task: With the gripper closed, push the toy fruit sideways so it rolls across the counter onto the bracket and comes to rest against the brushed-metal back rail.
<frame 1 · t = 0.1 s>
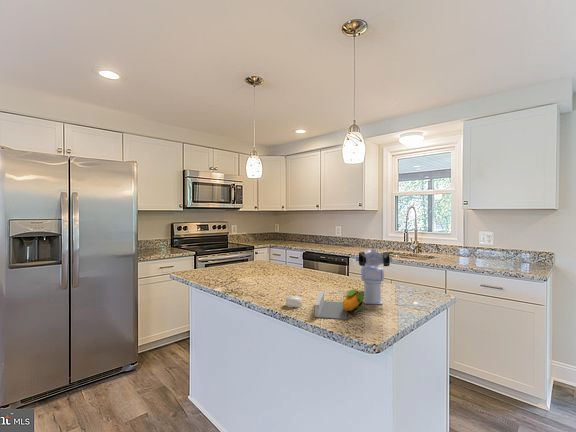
hand: (375, 260, 118), 22 cm above the countertop, tool horizontal, fingers open, 7 cm apart
bracket: (332, 309, 126), on the countertop
toy fruit: (352, 310, 124), on the countertop, touching bracket
white glossy round part: (293, 306, 132), on the countertop
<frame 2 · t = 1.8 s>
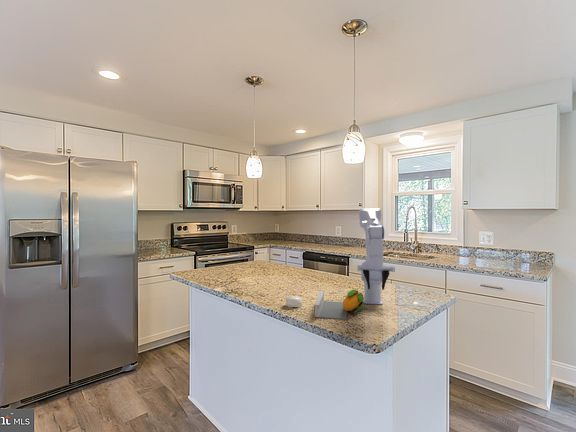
hand: (375, 289, 122), 9 cm above the countertop, tool pointing down, fingers open, 5 cm apart
nothing on the countertop moved.
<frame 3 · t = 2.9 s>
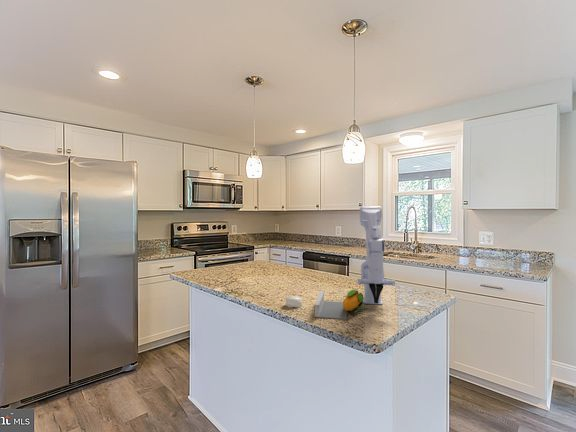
hand: (376, 302, 122), 4 cm above the countertop, tool pointing down, fingers closed
nothing on the countertop moved.
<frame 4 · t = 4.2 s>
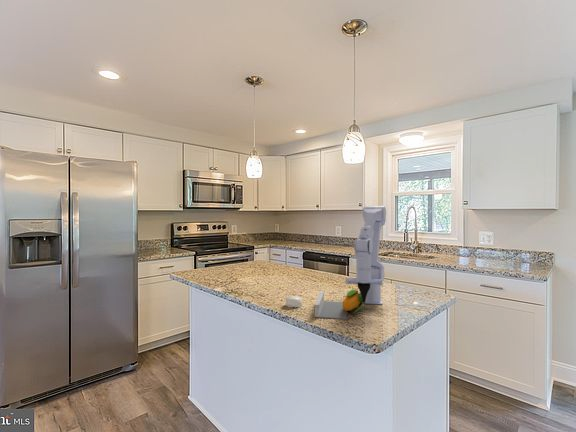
hand: (363, 301, 123), 4 cm above the countertop, tool pointing down, fingers closed
toy fruit: (351, 310, 124), on the countertop, touching gripper
everything else where it was.
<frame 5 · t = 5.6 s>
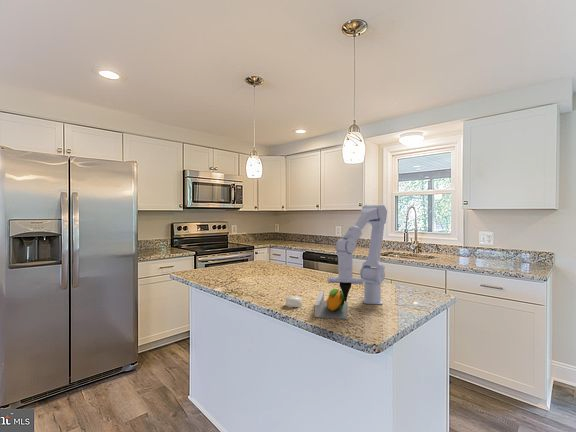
hand: (345, 301, 125), 4 cm above the countertop, tool pointing down, fingers closed
toy fruit: (335, 309, 125), resting on bracket, touching gripper
everything else where it was.
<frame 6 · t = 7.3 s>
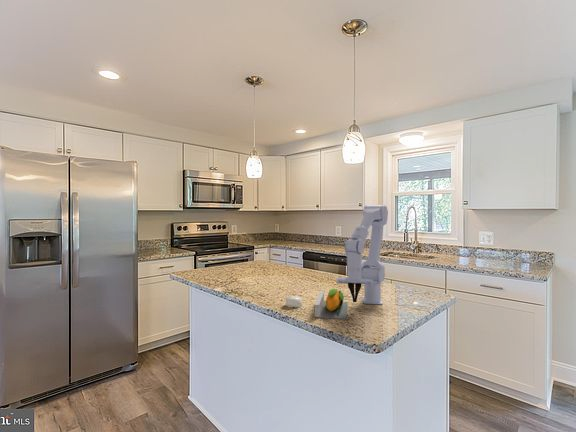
hand: (354, 301, 124), 4 cm above the countertop, tool pointing down, fingers closed
toy fruit: (334, 310, 125), resting on bracket
everything else where it was.
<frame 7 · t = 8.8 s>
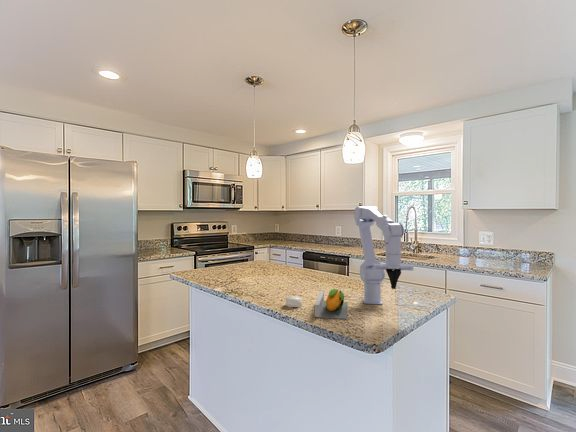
hand: (393, 288, 119), 10 cm above the countertop, tool pointing down, fingers closed
nothing on the countertop moved.
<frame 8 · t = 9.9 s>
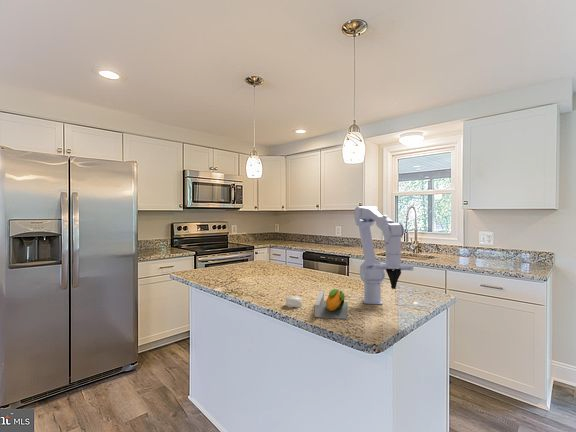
hand: (393, 288, 119), 10 cm above the countertop, tool pointing down, fingers closed
nothing on the countertop moved.
at the end: toy fruit inside the target area (1.6 cm from its centre), resting on bracket; toy fruit moved 7.0 cm from its start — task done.
